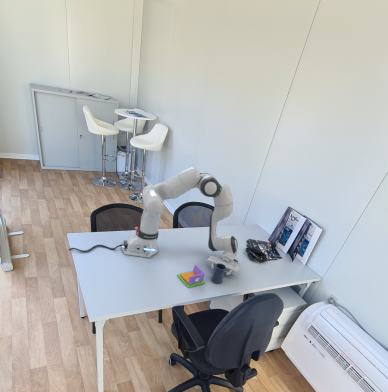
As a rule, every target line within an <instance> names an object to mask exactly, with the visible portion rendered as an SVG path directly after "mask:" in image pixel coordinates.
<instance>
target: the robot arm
mask: <svg viewBox="0 0 388 392" xmlns="http://www.w3.org/2000/svg"><path fill="white" fill-rule="evenodd" d="M192 189H198V191H199V193H201V194H202V195H203V196H205V197H207V198H212V199H213V204H214V206H213V207H214V208H213V211H212V212H211V213H210V216H209V226H208V227H209V228H208V241H207V245H208V248H209V250H210V251H211V252H219V251H220V252H222V254H221V255H220V257H219V256H216V255H210V256H209V257H208V258H207V260H206V265H208V266H209V267H210V270H212V271H214V269H215V265H216V264H217V263H221V264H224V265H225V266H226V270H225V276H226V277H229V276H230V275H232V276H237V275H238V273H239V271H240V261H239V260H237V259H236V258H237V255H238V248H239V247H238V240H237V238H236V237H235V236H234V235H217V227H218V226H217V225H218V223H219V222H220V221H223V220H225V219H227V218H228V217H230V216H231V215H232V214H233V212H234V202H233V201H234V200H233V196H232V195H233V194H232V191H231V187H230V186H229V185H228V184H226V183H219V181H218V180H217V179H216V177H215V176H213V175H212V174H210V173H206V172H202V173H201V172H199V170H198V169H197V168H195V167H188V168H186V169H184V170H181V171H180V172H178V173H176V174H174V175H173V176H171V177H169V178H168V179H166V180H163V181H161V182H159V183H155V184H149V185H146V186H145V187H143V188H142V193H141V199H142V202H143V211H142V214H141V217H140V224H139V227H138V226H135V227H134V230H135V231H136V232H135V233H133V234H131V235H129V236H128V237H127V238H126V239H125V240H123V242H122V244H119V245H116V246H115V247H109V246H107V245H104V244H96V245H94V246H92V247H91V248H89V249H87V250H82V249H79V248H76V247H70V248H69V249H68V251H71V250H75V251H78V252H81V253H87V252H90V251H92V250H93V249H95V248H96V247H102V248H105V249H107V250H108V249H109V250H113V251H114V250H116V249H118V248H119V247H121V251H122V252H123V254H124V255H127V256H134V257H142V258H152V257H153V256H154V255H156V254H157V253H158V251H159V250H158V238H159V227H160V220H161V217H162V214H163V213H164V211H165V201H167V200H171V199H172V200H175V199H178V198H179V197H180V196H182V195H184V194H186V193H187V192H189V191H190V190H192Z"/></svg>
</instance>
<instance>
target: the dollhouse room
mask: <svg viewBox="0 0 388 392" xmlns="http://www.w3.org/2000/svg"><path fill="white" fill-rule="evenodd" d="M177 277H178V278H179V279H180V280H181V281H182V283H183V284H184V285H185V286H186V287H187V288H192V287H196V286H200V285H203V284H205V281H204V278H205V272H204V271H203V270H202V269H201V268H200V267H199V266H198V265H197V264H194V265H193V268H192V271H188V272H184V273H179V274H178V275H177Z"/></svg>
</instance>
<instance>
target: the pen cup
mask: <svg viewBox="0 0 388 392" xmlns="http://www.w3.org/2000/svg"><path fill="white" fill-rule="evenodd" d="M225 270H226V266H225V265H224V264H221V263H217V264H216V265H215V267H214V269H213V272H212V275H211V279H210V280H211V282H212V283H214V284H221V283H222V282H223V279H224V275H225V274H226V272H225Z"/></svg>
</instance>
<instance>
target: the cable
mask: <svg viewBox="0 0 388 392" xmlns="http://www.w3.org/2000/svg"><path fill="white" fill-rule="evenodd" d="M245 251H246V254H247V256H248V258H249V259H250V260H251V261H257V262H259V263H265V262H266V260H267V259H268V258H267V257H268V256H267V254H265V252H263V251H262V250H260V249H257V248H255V247H251V246H247V247H245ZM254 253H255V254H258V255H260V257H258V256H257V255H255V254H254ZM259 253H260V254H259ZM261 254H262V255H261Z"/></svg>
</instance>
